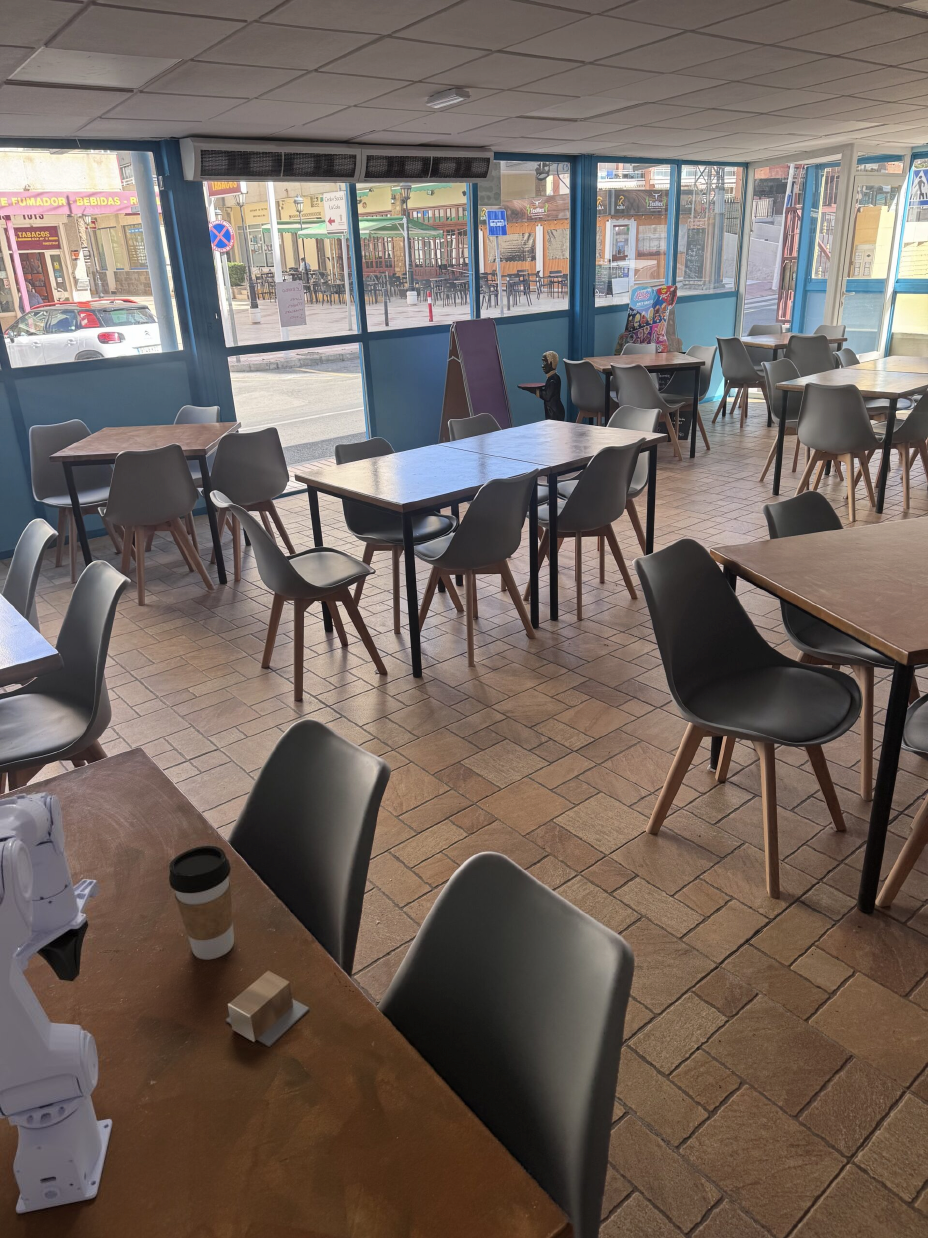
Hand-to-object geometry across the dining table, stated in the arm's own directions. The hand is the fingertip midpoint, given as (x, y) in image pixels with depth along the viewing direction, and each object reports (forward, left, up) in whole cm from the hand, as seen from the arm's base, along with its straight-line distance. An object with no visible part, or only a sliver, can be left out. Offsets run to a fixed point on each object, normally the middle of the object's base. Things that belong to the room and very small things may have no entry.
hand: (69, 976), depth 110 cm
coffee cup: (+14, -15, -10) cm, 23 cm away
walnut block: (-5, -20, -8) cm, 22 cm away
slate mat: (-2, -23, -10) cm, 25 cm away
